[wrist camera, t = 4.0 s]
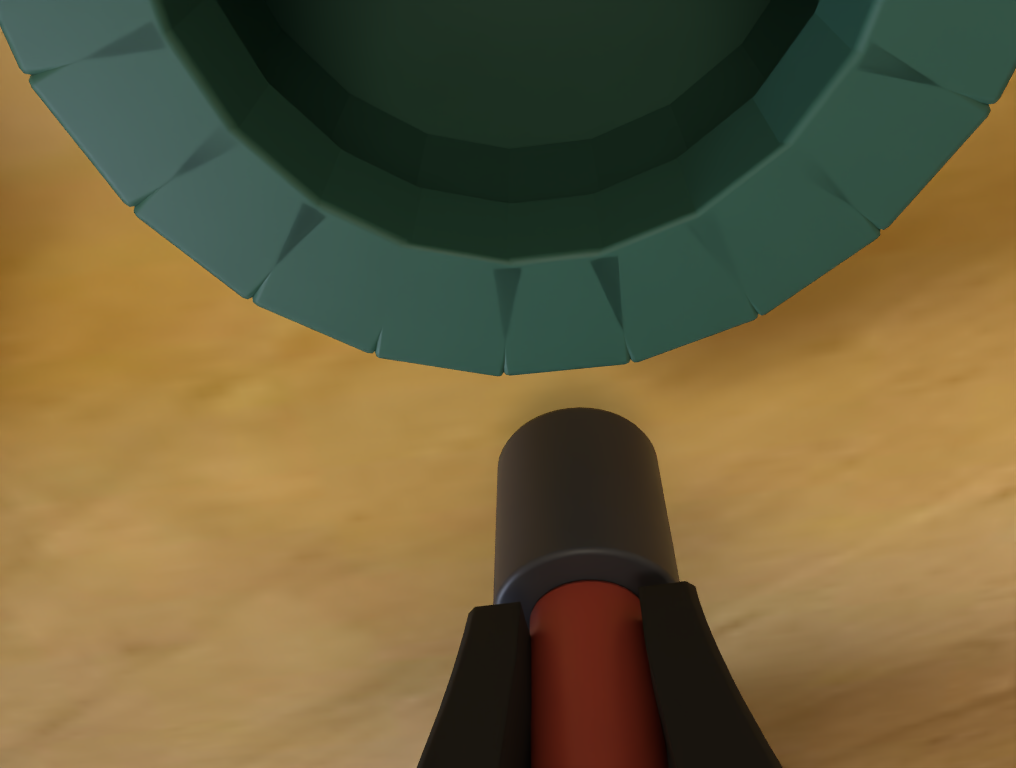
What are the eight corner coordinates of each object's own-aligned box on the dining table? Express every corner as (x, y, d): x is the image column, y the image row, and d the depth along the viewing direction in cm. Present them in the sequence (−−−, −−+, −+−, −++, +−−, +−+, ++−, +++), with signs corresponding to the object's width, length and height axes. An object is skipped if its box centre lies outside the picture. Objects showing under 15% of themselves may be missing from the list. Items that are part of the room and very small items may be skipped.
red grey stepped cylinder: (689, 444, 14) (826, 1043, 8) (601, 542, 16) (657, 1118, 9) (548, 380, 13) (572, 984, 7) (470, 489, 15) (431, 1075, 8)
